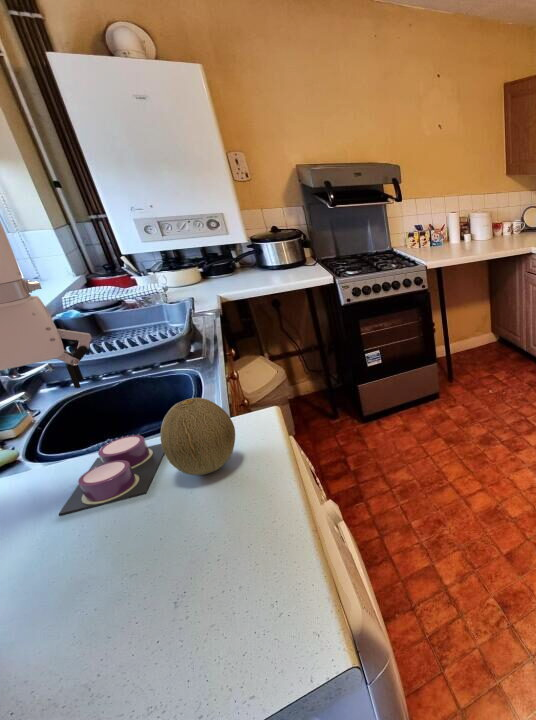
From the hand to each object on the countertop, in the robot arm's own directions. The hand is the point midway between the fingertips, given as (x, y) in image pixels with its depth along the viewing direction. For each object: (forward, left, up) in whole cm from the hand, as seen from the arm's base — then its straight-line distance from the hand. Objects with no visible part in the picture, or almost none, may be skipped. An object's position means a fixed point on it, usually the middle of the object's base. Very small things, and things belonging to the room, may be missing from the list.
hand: (37, 396), depth 71 cm
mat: (+4, +4, -20) cm, 21 cm away
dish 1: (+4, +8, -20) cm, 22 cm away
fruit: (+19, -1, -21) cm, 28 cm away
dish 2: (+4, -1, -20) cm, 20 cm away
